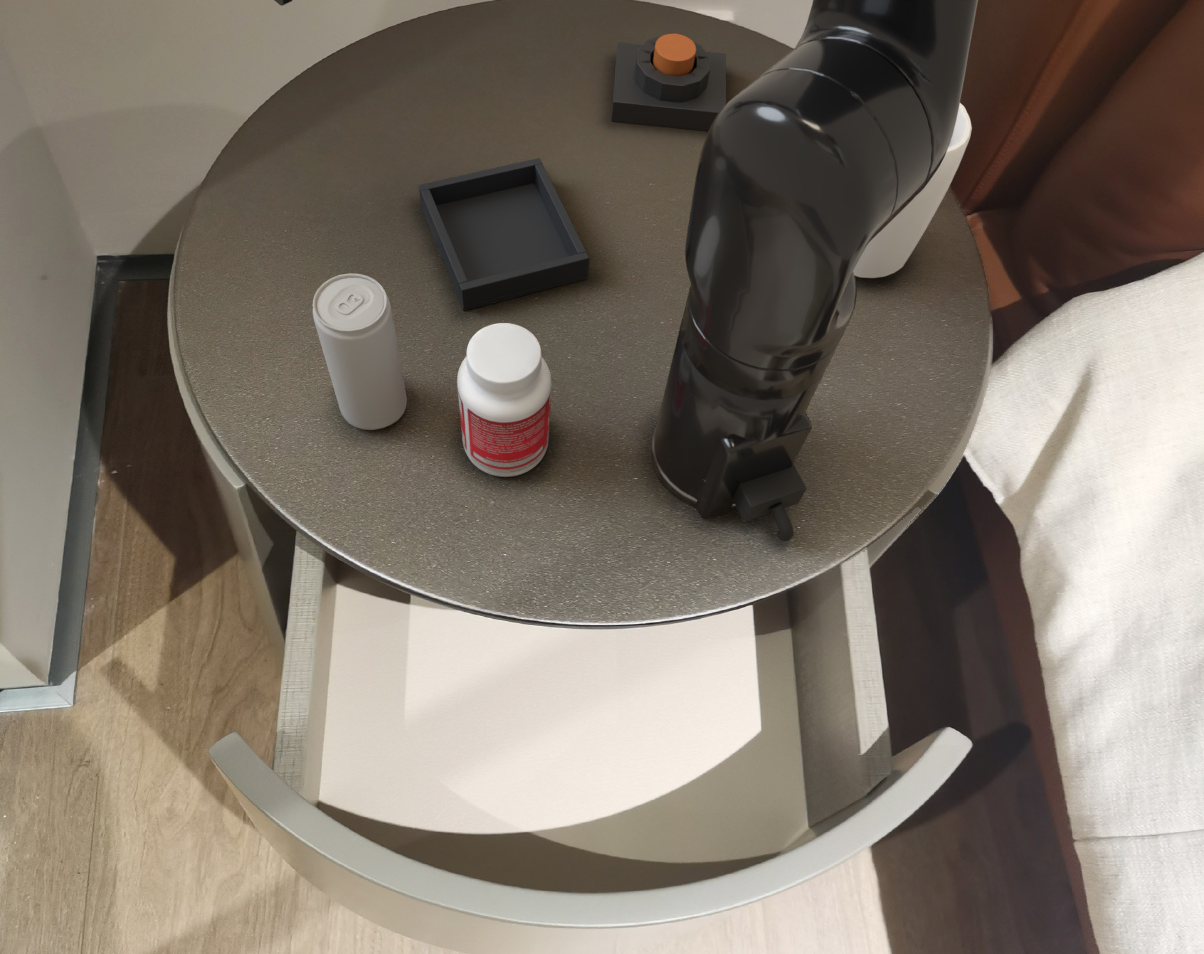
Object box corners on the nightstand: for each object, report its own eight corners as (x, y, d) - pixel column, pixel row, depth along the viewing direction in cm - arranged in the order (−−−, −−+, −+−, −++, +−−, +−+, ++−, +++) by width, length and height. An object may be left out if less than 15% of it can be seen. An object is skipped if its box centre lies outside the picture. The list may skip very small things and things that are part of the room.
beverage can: (421, 402, 72) (405, 298, 61) (375, 446, 70) (351, 345, 59) (372, 368, 73) (348, 259, 62) (326, 410, 71) (293, 304, 60)
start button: (693, 52, 87) (696, 35, 86) (692, 79, 86) (696, 62, 84) (653, 48, 87) (655, 31, 86) (652, 75, 86) (654, 58, 84)
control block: (721, 73, 92) (729, 36, 88) (721, 133, 88) (730, 96, 84) (615, 62, 91) (619, 24, 88) (611, 121, 87) (615, 84, 84)
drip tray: (587, 278, 79) (589, 257, 76) (463, 311, 76) (461, 290, 74) (539, 179, 83) (539, 157, 81) (420, 206, 81) (418, 184, 79)
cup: (788, 252, 82) (838, 115, 69) (843, 198, 85) (899, 59, 73) (873, 308, 79) (940, 177, 67) (926, 250, 83) (998, 116, 71)
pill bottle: (564, 455, 70) (572, 366, 61) (490, 494, 69) (486, 409, 59) (519, 393, 73) (520, 298, 63) (447, 429, 71) (436, 336, 61)
